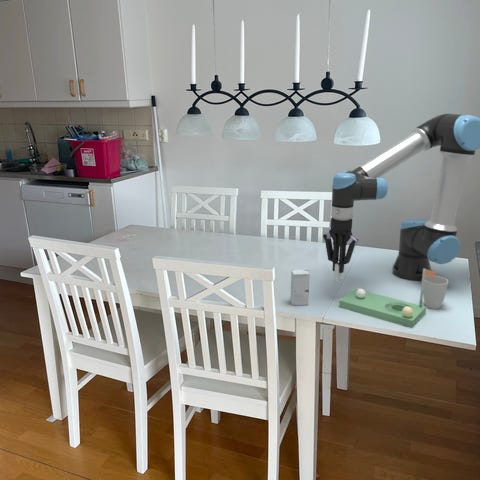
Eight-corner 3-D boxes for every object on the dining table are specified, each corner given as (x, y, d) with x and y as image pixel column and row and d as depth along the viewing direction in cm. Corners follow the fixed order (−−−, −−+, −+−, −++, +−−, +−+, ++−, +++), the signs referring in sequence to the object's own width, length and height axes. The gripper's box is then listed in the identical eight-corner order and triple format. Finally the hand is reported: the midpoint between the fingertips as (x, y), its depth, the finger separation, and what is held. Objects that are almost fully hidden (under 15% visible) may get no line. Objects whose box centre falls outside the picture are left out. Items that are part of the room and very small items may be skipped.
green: (339, 306, 172) (339, 300, 171) (355, 294, 182) (355, 288, 181) (411, 327, 156) (412, 320, 156) (425, 313, 166) (426, 306, 165)
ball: (358, 295, 175) (358, 286, 174) (367, 297, 173) (367, 288, 172) (354, 298, 173) (354, 289, 172) (362, 300, 171) (363, 291, 170)
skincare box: (292, 305, 173) (292, 274, 170) (289, 300, 177) (290, 269, 174) (309, 305, 174) (310, 273, 170) (306, 299, 178) (307, 269, 174)
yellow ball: (403, 313, 161) (404, 303, 160) (414, 315, 159) (415, 306, 158) (400, 316, 158) (401, 307, 157) (410, 319, 156) (411, 310, 155)
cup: (439, 300, 176) (442, 275, 173) (449, 310, 168) (452, 283, 165) (416, 301, 175) (419, 275, 172) (425, 311, 168) (428, 284, 165)
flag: (419, 306, 166) (423, 268, 161) (431, 309, 163) (435, 270, 159) (418, 307, 165) (422, 268, 161) (430, 310, 163) (435, 271, 158)
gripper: (319, 216, 171) (316, 279, 178) (353, 222, 163) (349, 287, 170) (330, 212, 177) (326, 273, 184) (363, 218, 169) (358, 281, 176)
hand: (337, 280), depth 177 cm, fingers closed
